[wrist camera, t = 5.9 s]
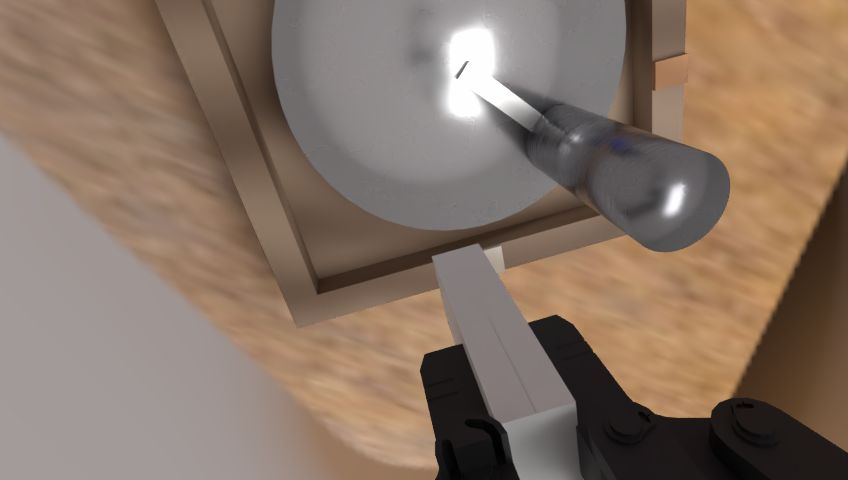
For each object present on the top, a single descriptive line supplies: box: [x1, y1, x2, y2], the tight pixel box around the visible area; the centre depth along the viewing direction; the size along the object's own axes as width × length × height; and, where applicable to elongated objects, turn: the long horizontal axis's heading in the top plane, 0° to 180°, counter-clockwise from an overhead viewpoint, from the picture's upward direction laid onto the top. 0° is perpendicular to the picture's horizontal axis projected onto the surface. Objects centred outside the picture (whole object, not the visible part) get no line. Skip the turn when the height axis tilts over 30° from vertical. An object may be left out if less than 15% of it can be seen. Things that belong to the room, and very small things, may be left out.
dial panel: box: [154, 0, 689, 328], centre depth 20 cm, size 20×20×4 cm
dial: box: [272, 0, 730, 252], centre depth 15 cm, size 14×14×10 cm
